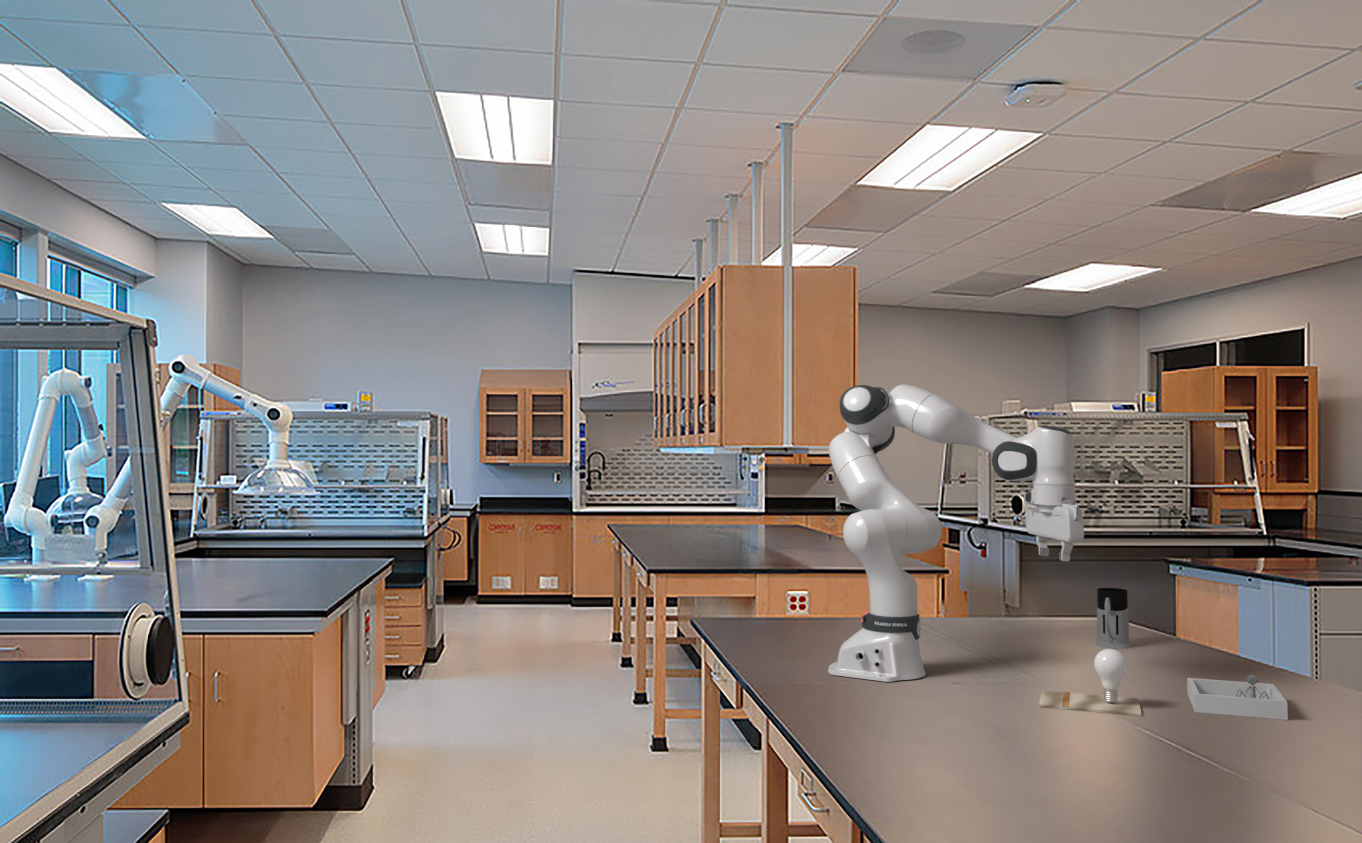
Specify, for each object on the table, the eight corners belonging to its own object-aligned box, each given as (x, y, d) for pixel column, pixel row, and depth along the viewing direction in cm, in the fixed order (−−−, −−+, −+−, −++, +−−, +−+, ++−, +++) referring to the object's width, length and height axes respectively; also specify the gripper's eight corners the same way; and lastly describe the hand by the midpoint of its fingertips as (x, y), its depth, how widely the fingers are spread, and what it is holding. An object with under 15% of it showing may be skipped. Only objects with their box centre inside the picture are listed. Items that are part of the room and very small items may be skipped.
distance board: (1038, 706, 201) (1038, 703, 202) (1041, 692, 213) (1041, 689, 214) (1141, 715, 194) (1141, 712, 194) (1138, 700, 206) (1138, 697, 206)
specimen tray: (1194, 712, 197) (1194, 694, 197) (1187, 694, 212) (1187, 677, 212) (1287, 719, 191) (1287, 701, 191) (1273, 700, 206) (1273, 683, 206)
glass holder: (1133, 644, 268) (1132, 588, 268) (1125, 653, 256) (1123, 595, 256) (1098, 641, 272) (1097, 586, 273) (1089, 649, 260) (1088, 592, 261)
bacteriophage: (1236, 710, 199) (1235, 676, 199) (1231, 701, 207) (1230, 668, 207) (1276, 713, 197) (1275, 679, 197) (1269, 704, 204) (1268, 671, 204)
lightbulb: (1132, 707, 199) (1132, 652, 199) (1099, 705, 199) (1099, 651, 200) (1121, 700, 205) (1121, 646, 206) (1089, 698, 206) (1090, 645, 206)
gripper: (1091, 500, 213) (1091, 564, 213) (1045, 494, 234) (1045, 552, 233) (1064, 500, 213) (1063, 564, 212) (1020, 494, 233) (1020, 553, 233)
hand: (1054, 558), depth 223 cm, fingers open, 8 cm apart
